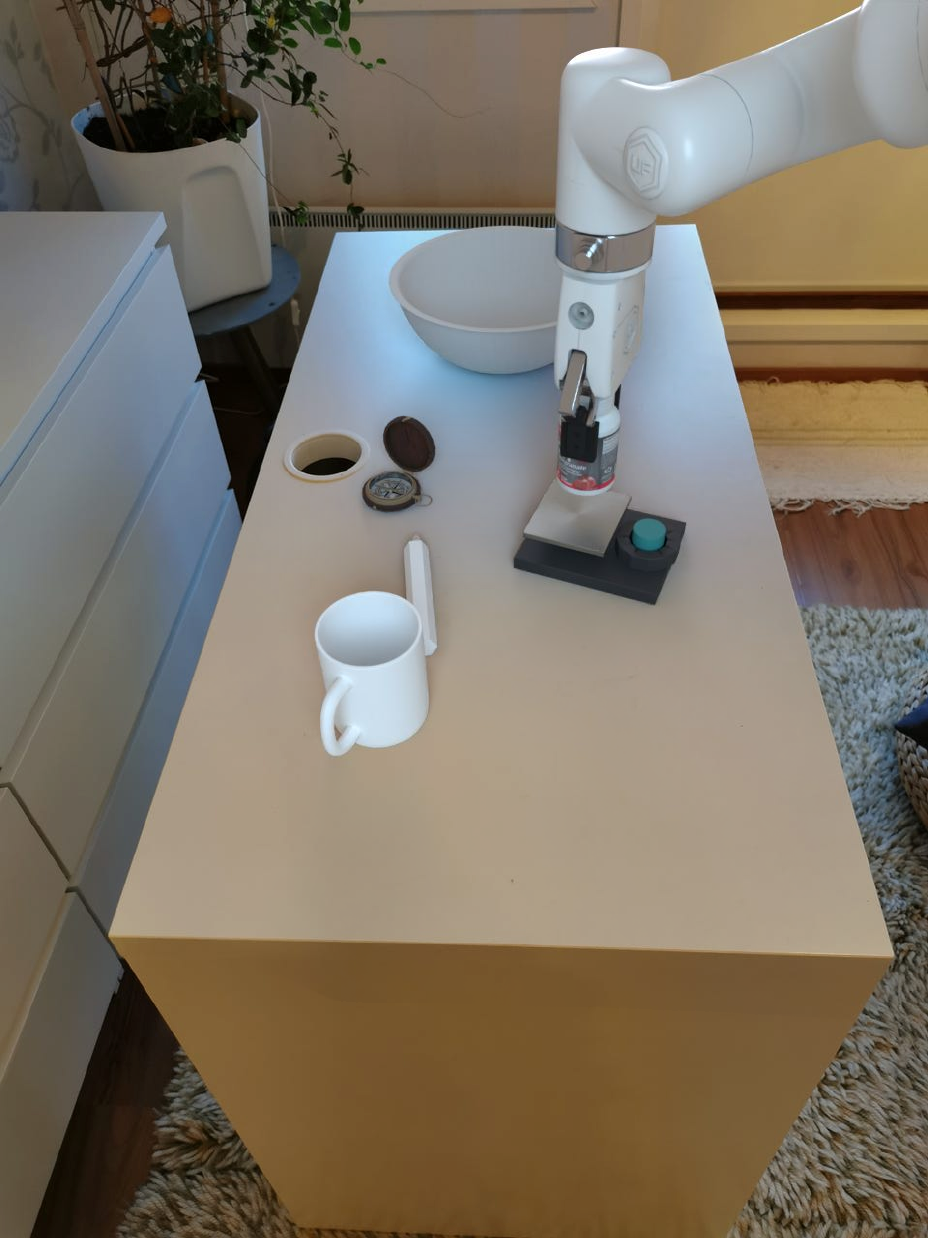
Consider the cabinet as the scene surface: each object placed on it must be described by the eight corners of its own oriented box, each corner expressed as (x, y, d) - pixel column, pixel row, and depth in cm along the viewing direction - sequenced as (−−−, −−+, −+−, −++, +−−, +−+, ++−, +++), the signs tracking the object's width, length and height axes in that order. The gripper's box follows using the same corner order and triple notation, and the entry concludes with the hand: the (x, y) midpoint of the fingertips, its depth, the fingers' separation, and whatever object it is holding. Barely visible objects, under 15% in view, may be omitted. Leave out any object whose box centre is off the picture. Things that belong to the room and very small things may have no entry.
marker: (417, 543, 96) (428, 659, 85) (398, 537, 95) (406, 653, 84) (429, 525, 95) (441, 640, 83) (410, 518, 94) (419, 634, 82)
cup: (446, 691, 81) (440, 607, 74) (380, 800, 74) (366, 719, 67) (362, 663, 84) (348, 579, 77) (289, 765, 77) (266, 683, 69)
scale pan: (631, 500, 93) (632, 495, 93) (603, 557, 88) (604, 552, 87) (554, 482, 96) (554, 477, 95) (522, 537, 90) (522, 532, 90)
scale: (689, 534, 95) (693, 510, 93) (659, 606, 88) (663, 583, 86) (551, 501, 99) (552, 478, 97) (513, 568, 92) (513, 544, 90)
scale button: (667, 535, 91) (669, 522, 90) (659, 554, 89) (661, 542, 88) (637, 527, 92) (638, 515, 90) (628, 546, 90) (629, 534, 89)
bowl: (623, 407, 111) (631, 328, 103) (389, 413, 111) (381, 335, 104) (600, 295, 130) (605, 222, 123) (401, 301, 130) (394, 228, 123)
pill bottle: (545, 486, 88) (548, 394, 81) (573, 456, 91) (578, 365, 84) (597, 505, 86) (605, 412, 79) (624, 474, 89) (634, 382, 82)
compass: (351, 503, 100) (342, 446, 95) (392, 463, 104) (386, 406, 99) (415, 527, 97) (410, 469, 92) (455, 484, 101) (452, 427, 96)
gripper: (618, 298, 65) (600, 505, 78) (681, 201, 76) (655, 397, 89) (516, 281, 68) (515, 484, 81) (591, 189, 79) (579, 382, 91)
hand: (589, 437), depth 85 cm, fingers closed on pill bottle, 5 cm apart
